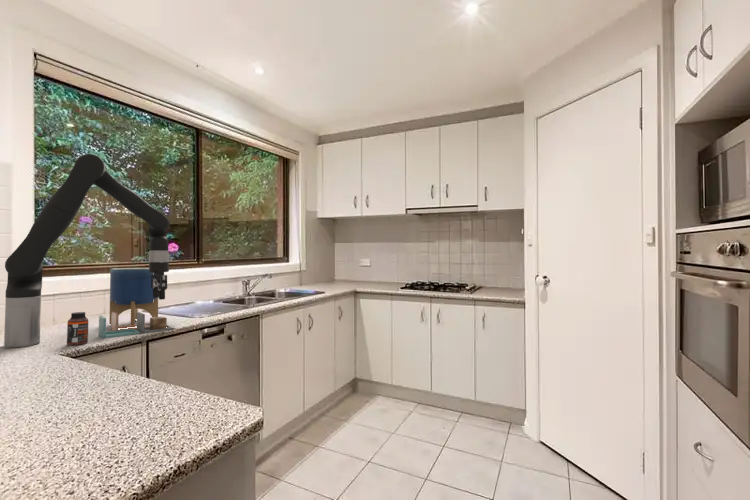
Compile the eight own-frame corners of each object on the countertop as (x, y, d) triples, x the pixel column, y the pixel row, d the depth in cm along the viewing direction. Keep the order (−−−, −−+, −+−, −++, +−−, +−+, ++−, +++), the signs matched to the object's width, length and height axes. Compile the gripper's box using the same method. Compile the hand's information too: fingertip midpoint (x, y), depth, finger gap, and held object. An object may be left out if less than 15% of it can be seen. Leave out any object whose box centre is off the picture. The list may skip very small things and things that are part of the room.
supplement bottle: (78, 345, 130) (79, 313, 130) (62, 345, 130) (62, 313, 130) (92, 342, 136) (92, 311, 136) (76, 342, 136) (77, 311, 136)
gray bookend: (142, 334, 149) (142, 314, 150) (136, 331, 156) (136, 312, 156) (174, 330, 158) (174, 311, 158) (167, 327, 164) (167, 309, 165)
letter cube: (153, 331, 154) (153, 318, 154) (149, 329, 158) (150, 317, 158) (166, 329, 158) (166, 317, 158) (162, 327, 161) (162, 315, 161)
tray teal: (103, 339, 140) (103, 318, 140) (98, 335, 146) (99, 315, 147) (139, 334, 149) (139, 314, 149) (133, 331, 155) (134, 312, 155)
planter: (106, 329, 161) (107, 269, 161) (112, 322, 177) (113, 268, 178) (157, 325, 170) (157, 268, 170) (158, 319, 187) (159, 267, 187)
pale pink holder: (115, 333, 152) (116, 313, 152) (111, 330, 158) (111, 311, 158) (148, 329, 160) (149, 310, 161) (143, 326, 167) (143, 308, 167)
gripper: (144, 261, 161) (144, 298, 160) (154, 261, 151) (153, 300, 150) (163, 261, 166) (163, 296, 166) (174, 261, 156) (173, 299, 156)
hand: (158, 298), depth 158 cm, fingers open, 8 cm apart
